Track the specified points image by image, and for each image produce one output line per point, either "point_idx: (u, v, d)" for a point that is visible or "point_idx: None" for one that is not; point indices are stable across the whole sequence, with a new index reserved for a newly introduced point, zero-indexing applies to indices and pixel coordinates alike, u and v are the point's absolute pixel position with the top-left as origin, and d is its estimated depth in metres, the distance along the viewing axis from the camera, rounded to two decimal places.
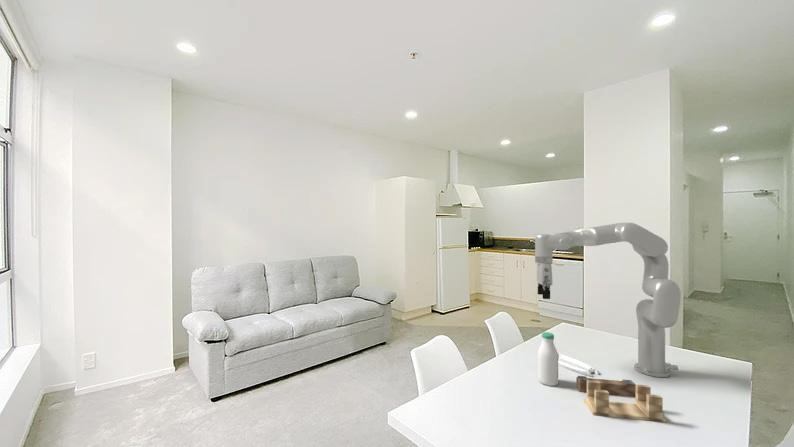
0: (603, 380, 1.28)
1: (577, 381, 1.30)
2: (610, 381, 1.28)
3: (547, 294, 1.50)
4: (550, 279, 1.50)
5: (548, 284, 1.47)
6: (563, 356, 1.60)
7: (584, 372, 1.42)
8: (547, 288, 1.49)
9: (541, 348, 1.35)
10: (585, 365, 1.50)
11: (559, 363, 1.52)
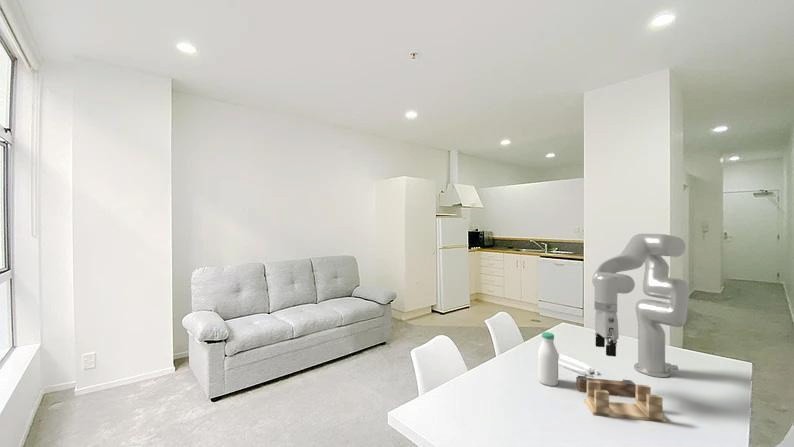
0: (603, 380, 1.28)
1: (577, 381, 1.30)
2: (610, 381, 1.28)
3: (612, 350, 1.22)
4: (616, 332, 1.23)
5: (615, 339, 1.20)
6: (563, 356, 1.60)
7: (583, 372, 1.42)
8: (613, 344, 1.21)
9: (541, 348, 1.35)
10: (585, 365, 1.50)
11: (559, 363, 1.52)
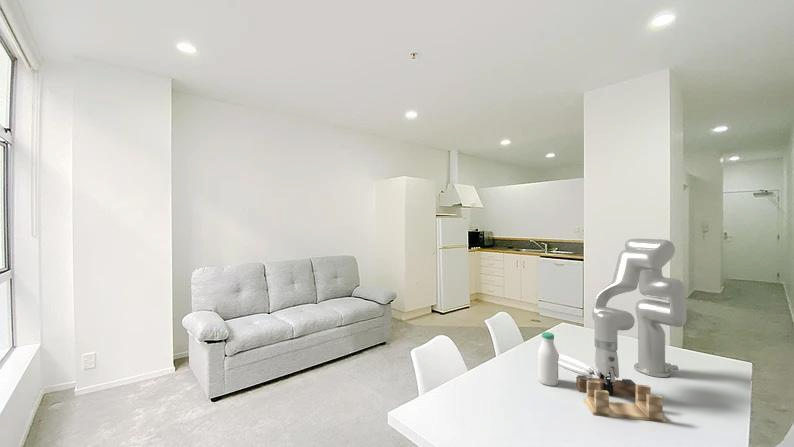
0: (603, 380, 1.28)
1: (577, 380, 1.30)
2: None
3: (610, 389, 1.25)
4: (616, 371, 1.23)
5: (612, 382, 1.22)
6: (563, 356, 1.59)
7: (582, 372, 1.42)
8: (610, 383, 1.24)
9: (541, 348, 1.35)
10: (584, 365, 1.49)
11: (558, 363, 1.52)
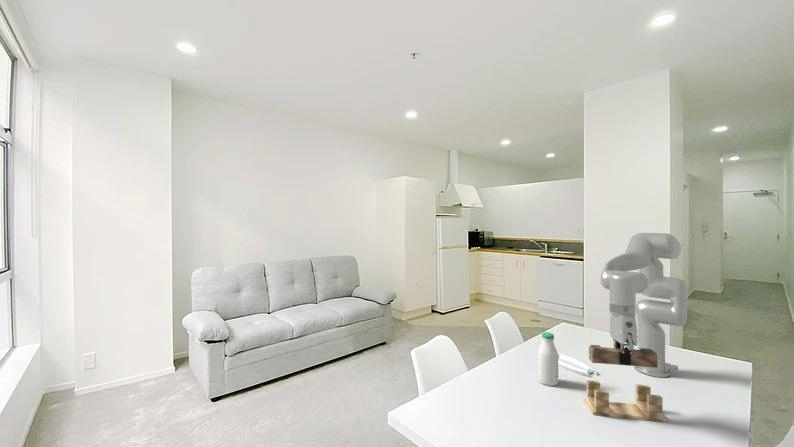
0: (619, 349, 1.15)
1: (590, 350, 1.17)
2: None
3: (627, 359, 1.12)
4: (635, 338, 1.10)
5: (630, 350, 1.09)
6: (563, 356, 1.60)
7: (582, 372, 1.42)
8: (628, 351, 1.11)
9: (541, 348, 1.35)
10: (584, 365, 1.49)
11: (558, 363, 1.52)
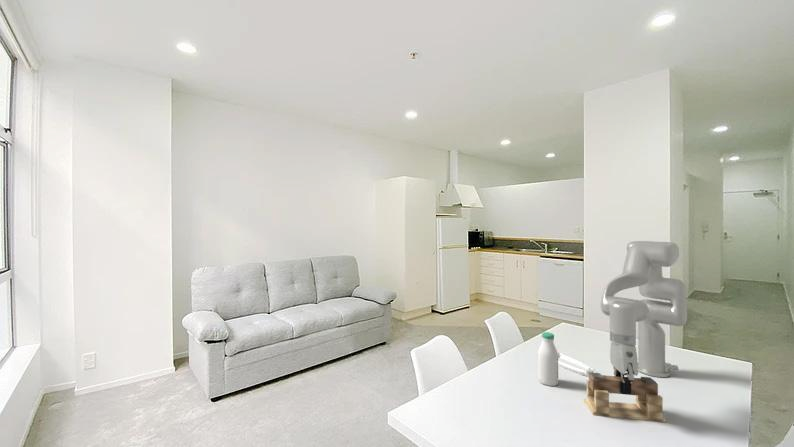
0: (620, 378, 1.15)
1: (590, 378, 1.17)
2: None
3: (627, 388, 1.12)
4: (635, 368, 1.09)
5: (631, 380, 1.09)
6: (564, 356, 1.60)
7: (581, 372, 1.42)
8: (628, 381, 1.11)
9: (541, 348, 1.35)
10: (584, 366, 1.49)
11: (558, 363, 1.52)
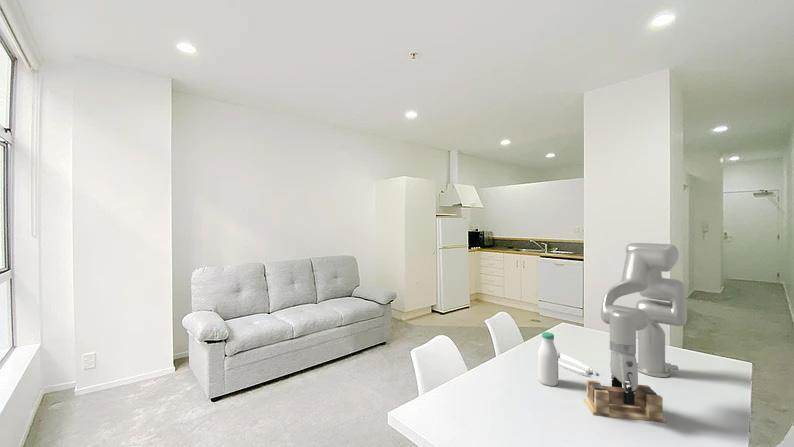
0: (620, 389, 1.15)
1: (590, 389, 1.17)
2: None
3: (631, 399, 1.09)
4: (635, 377, 1.09)
5: (634, 388, 1.07)
6: (564, 356, 1.60)
7: (581, 372, 1.42)
8: (631, 391, 1.08)
9: (541, 348, 1.35)
10: (584, 366, 1.49)
11: (558, 363, 1.53)
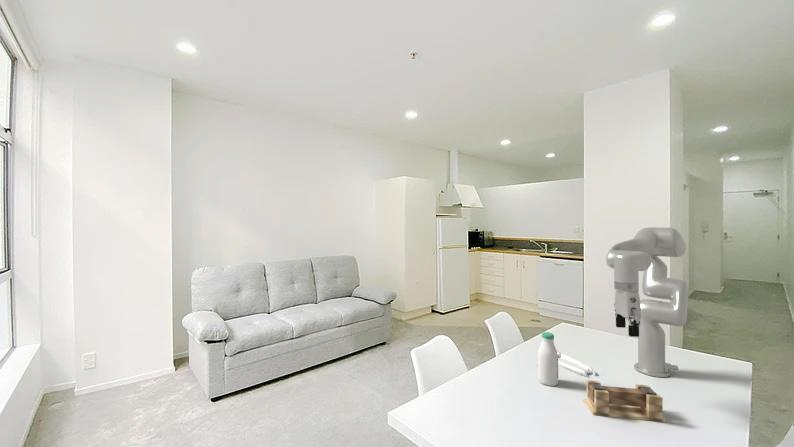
0: (620, 389, 1.15)
1: (590, 389, 1.17)
2: (627, 389, 1.15)
3: (635, 331, 1.18)
4: (638, 312, 1.18)
5: (638, 319, 1.15)
6: (565, 356, 1.60)
7: (580, 372, 1.42)
8: (636, 324, 1.17)
9: (541, 348, 1.35)
10: (584, 366, 1.49)
11: (558, 362, 1.53)
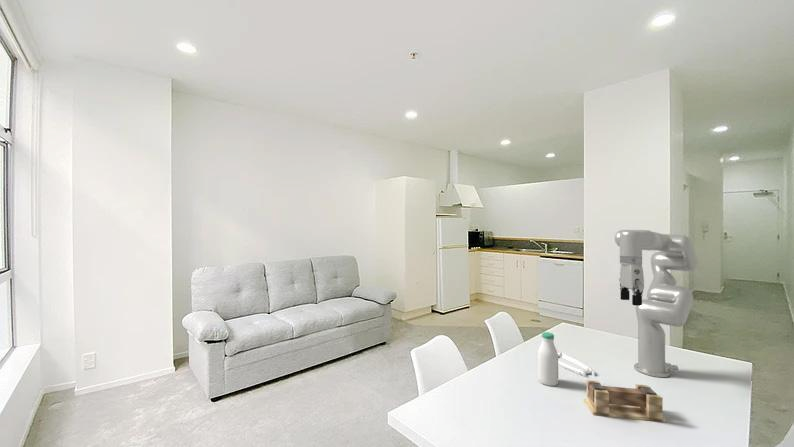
0: (620, 389, 1.15)
1: (590, 389, 1.17)
2: (627, 389, 1.15)
3: (639, 300, 1.29)
4: (642, 282, 1.30)
5: (641, 288, 1.27)
6: (566, 356, 1.59)
7: (579, 372, 1.42)
8: (639, 293, 1.28)
9: (541, 348, 1.35)
10: (584, 366, 1.49)
11: None
